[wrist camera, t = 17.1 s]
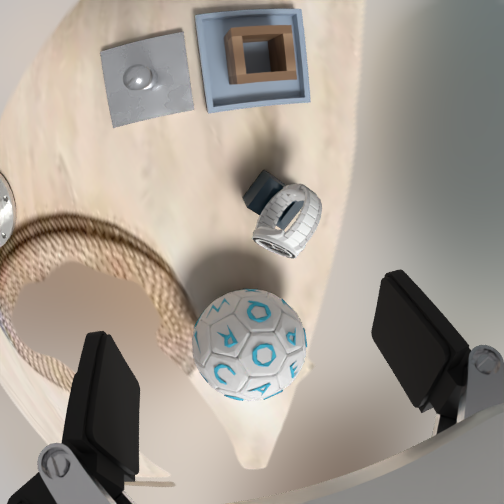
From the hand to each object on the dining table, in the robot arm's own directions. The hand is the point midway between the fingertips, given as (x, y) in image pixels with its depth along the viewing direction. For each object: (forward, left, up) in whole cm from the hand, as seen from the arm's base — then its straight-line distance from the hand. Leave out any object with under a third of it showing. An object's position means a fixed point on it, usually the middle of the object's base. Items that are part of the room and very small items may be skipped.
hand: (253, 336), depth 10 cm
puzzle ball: (+1, -24, -28) cm, 37 cm away
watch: (+7, -7, -28) cm, 30 cm away
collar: (+6, +10, -28) cm, 30 cm away
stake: (-5, +10, -28) cm, 30 cm away
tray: (+6, +10, -28) cm, 31 cm away
